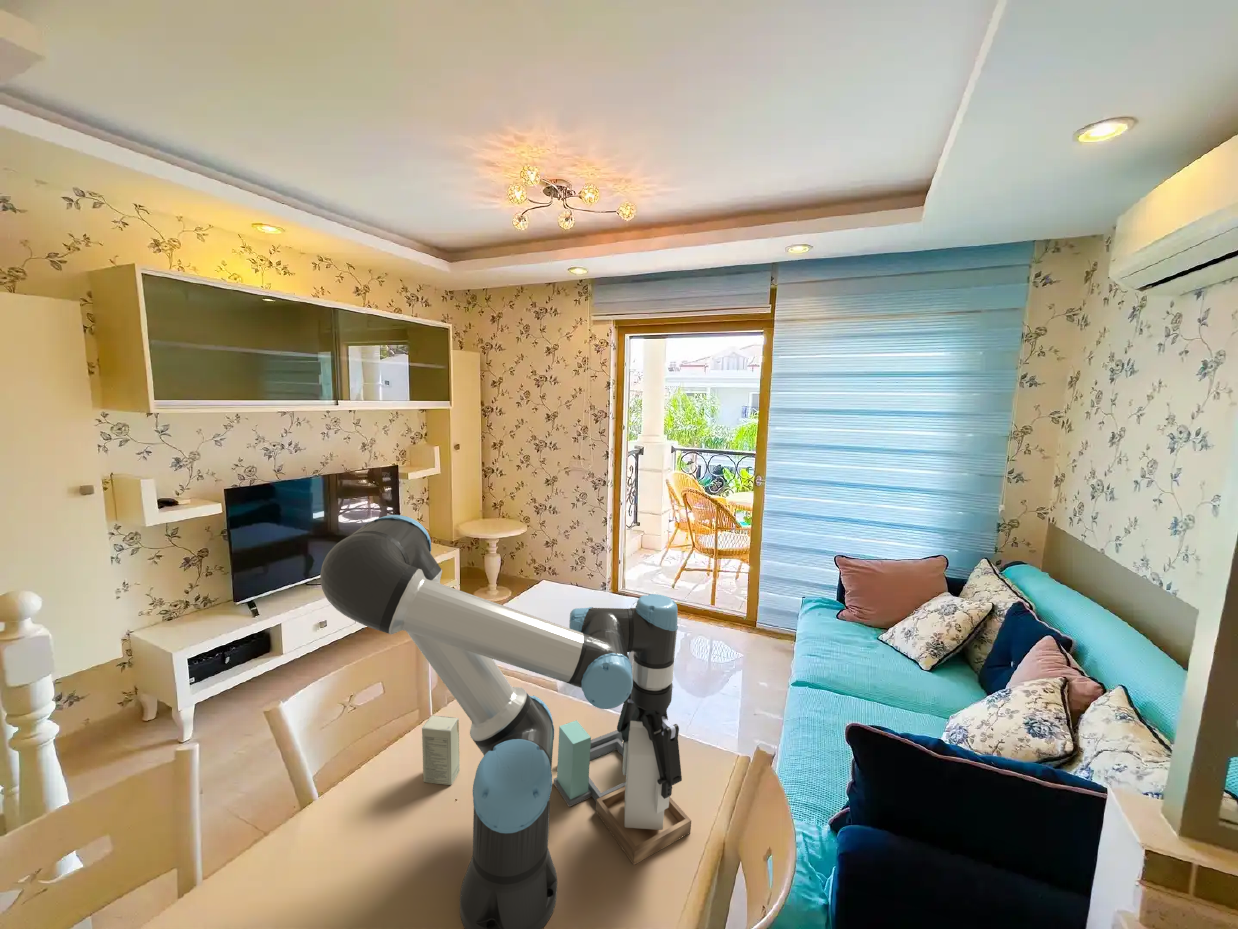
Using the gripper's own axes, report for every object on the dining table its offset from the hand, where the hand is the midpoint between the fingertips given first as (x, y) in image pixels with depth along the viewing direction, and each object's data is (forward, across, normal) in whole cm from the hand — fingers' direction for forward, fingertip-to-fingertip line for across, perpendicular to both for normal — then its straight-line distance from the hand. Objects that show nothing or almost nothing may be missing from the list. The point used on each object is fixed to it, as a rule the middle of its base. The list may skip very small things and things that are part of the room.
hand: (644, 789), depth 95 cm
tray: (+7, 0, 0) cm, 7 cm away
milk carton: (+5, 0, 0) cm, 5 cm away
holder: (+7, +14, -1) cm, 15 cm away
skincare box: (+7, +30, +30) cm, 43 cm away
